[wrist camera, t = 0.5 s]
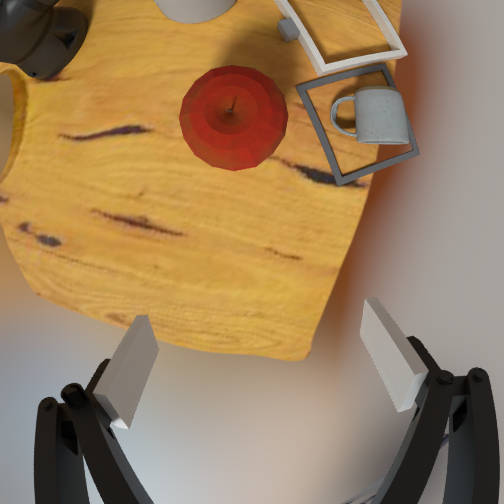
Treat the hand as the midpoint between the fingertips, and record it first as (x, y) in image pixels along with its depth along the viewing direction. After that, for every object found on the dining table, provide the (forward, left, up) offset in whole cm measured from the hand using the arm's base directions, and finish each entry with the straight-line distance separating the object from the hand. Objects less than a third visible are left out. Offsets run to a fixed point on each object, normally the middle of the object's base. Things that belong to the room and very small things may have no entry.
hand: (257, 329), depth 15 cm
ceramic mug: (-8, +21, -27) cm, 35 cm away
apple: (-14, +4, -27) cm, 30 cm away
